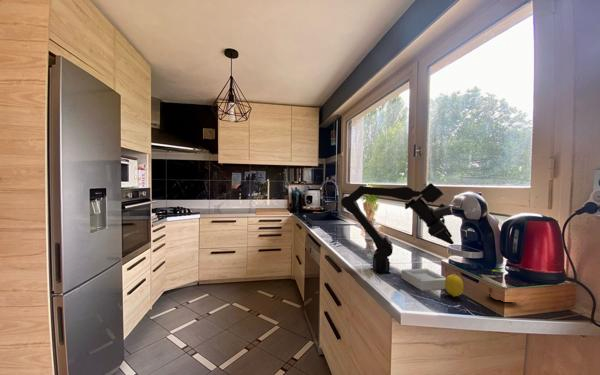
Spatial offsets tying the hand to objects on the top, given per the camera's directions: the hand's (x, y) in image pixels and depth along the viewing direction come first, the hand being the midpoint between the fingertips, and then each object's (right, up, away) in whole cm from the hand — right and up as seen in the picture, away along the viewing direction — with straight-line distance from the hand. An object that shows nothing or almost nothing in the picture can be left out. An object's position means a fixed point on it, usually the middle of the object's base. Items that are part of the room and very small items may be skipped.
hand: (451, 240), depth 95 cm
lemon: (-8, -17, -13) cm, 23 cm away
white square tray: (-12, -17, -1) cm, 21 cm away
